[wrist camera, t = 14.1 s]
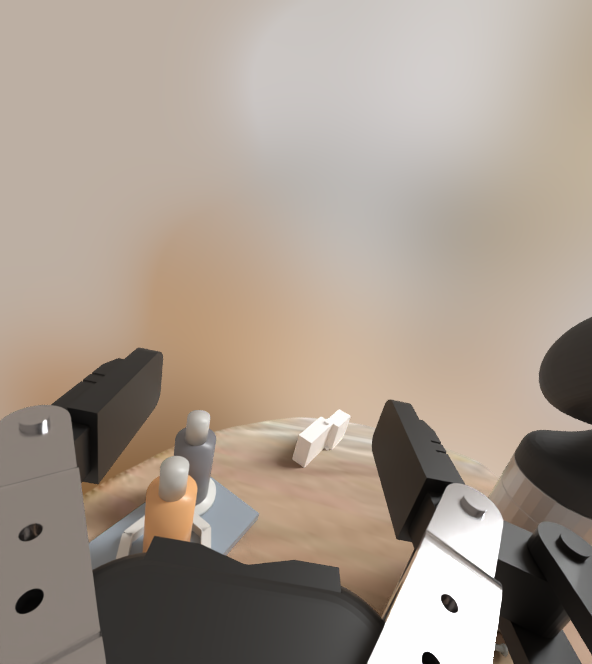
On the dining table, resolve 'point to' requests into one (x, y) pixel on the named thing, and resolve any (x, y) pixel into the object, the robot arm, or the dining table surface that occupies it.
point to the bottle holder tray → (210, 508)
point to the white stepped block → (320, 437)
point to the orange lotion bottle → (170, 502)
